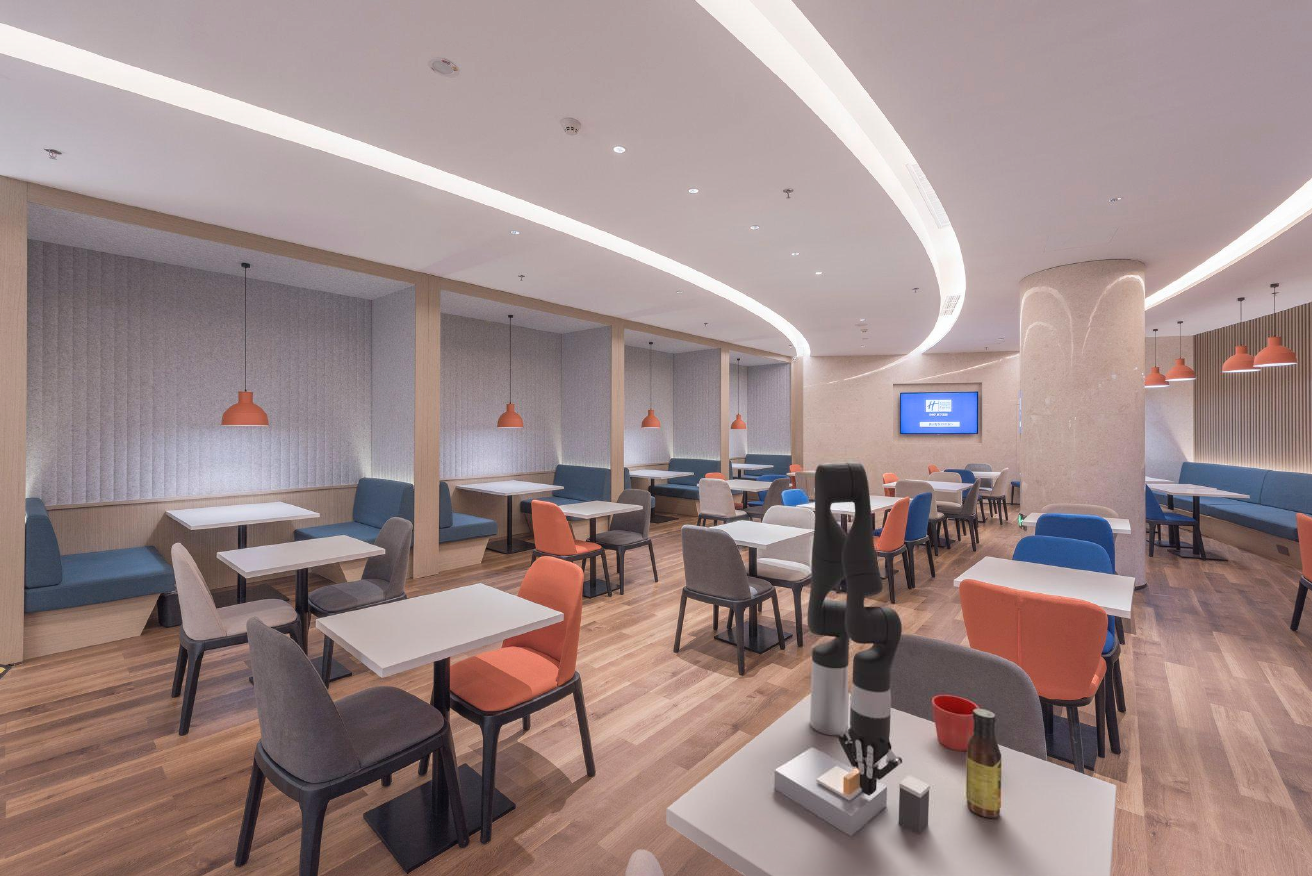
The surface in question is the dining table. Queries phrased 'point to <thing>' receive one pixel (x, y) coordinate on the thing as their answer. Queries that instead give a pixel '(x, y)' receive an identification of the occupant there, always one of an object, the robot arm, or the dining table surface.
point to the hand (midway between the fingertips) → (867, 792)
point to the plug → (913, 804)
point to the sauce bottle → (983, 766)
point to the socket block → (827, 792)
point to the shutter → (842, 782)
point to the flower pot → (953, 720)
